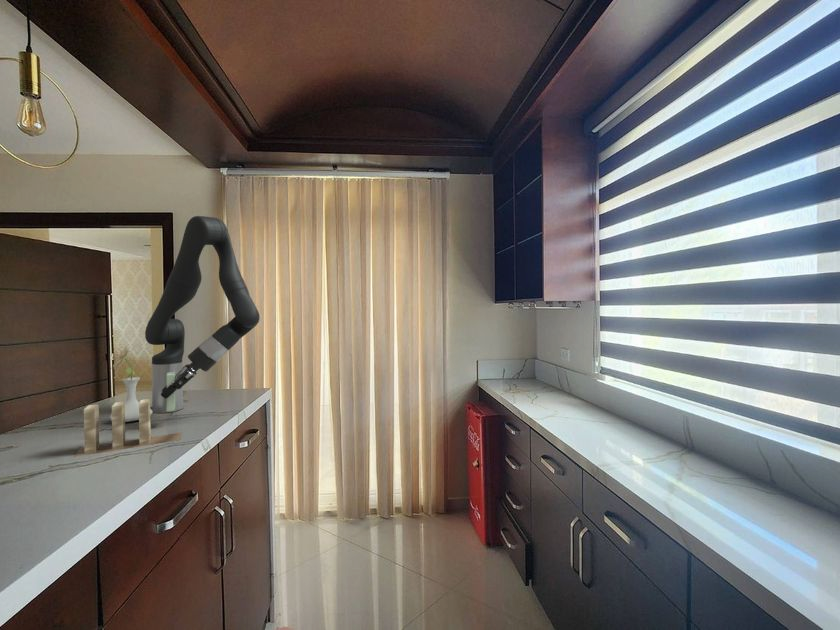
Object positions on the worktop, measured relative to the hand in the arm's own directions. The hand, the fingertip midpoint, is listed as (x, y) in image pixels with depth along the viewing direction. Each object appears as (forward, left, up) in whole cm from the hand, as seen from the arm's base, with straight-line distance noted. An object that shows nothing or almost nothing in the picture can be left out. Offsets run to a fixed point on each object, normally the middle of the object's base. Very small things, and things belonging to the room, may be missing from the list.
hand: (163, 394), depth 114 cm
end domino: (+4, -19, -10) cm, 22 cm away
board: (+8, -12, -11) cm, 18 cm away
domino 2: (+10, -10, -10) cm, 17 cm away
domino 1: (+7, -14, -10) cm, 19 cm away
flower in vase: (-20, 0, -11) cm, 23 cm away
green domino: (+1, +2, -5) cm, 5 cm away
